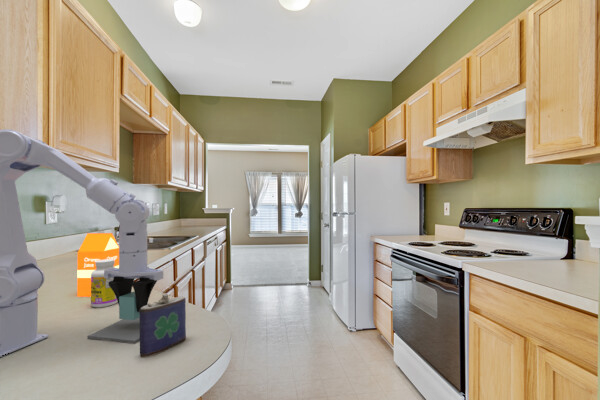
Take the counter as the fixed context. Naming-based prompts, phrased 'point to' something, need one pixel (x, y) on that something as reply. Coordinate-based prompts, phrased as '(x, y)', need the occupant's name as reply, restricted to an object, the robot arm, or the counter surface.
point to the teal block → (128, 307)
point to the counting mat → (119, 332)
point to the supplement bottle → (102, 285)
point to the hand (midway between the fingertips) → (133, 309)
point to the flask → (162, 325)
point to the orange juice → (94, 258)
